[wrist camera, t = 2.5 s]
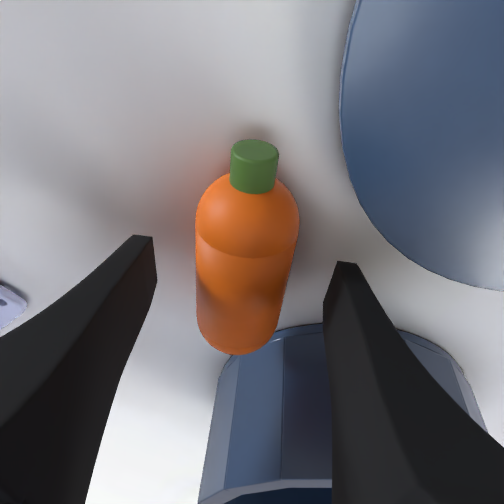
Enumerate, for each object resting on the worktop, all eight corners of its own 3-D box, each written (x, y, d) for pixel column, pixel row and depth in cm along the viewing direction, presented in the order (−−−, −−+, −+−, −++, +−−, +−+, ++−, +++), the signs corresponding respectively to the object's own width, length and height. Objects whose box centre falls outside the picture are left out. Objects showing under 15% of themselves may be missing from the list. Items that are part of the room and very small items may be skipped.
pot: (171, 373, 20) (135, 503, 15) (393, 282, 14) (440, 453, 9) (304, 455, 26) (305, 566, 21) (500, 416, 20) (559, 559, 15)
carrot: (274, 311, 16) (271, 376, 13) (204, 302, 16) (189, 365, 13) (313, 131, 10) (318, 189, 8) (206, 117, 10) (181, 172, 8)
